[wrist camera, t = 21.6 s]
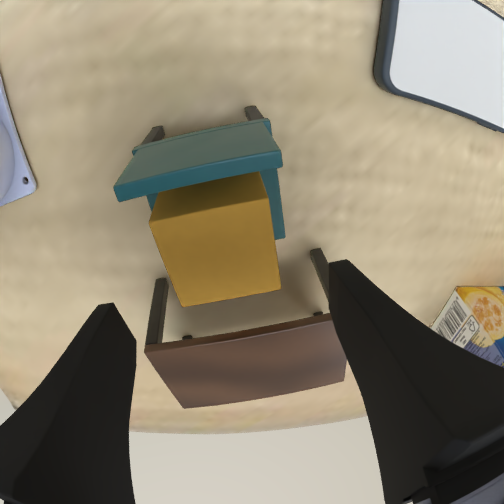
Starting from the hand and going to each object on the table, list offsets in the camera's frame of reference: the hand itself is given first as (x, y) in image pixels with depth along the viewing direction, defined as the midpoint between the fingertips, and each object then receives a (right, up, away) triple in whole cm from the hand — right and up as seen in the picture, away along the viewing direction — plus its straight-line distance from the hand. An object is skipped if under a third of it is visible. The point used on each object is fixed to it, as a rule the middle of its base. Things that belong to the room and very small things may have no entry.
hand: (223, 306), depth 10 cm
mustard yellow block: (-1, +3, +5) cm, 6 cm away
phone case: (+16, +15, +5) cm, 22 cm away
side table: (0, -2, +14) cm, 14 cm away
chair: (-1, +7, +8) cm, 10 cm away
